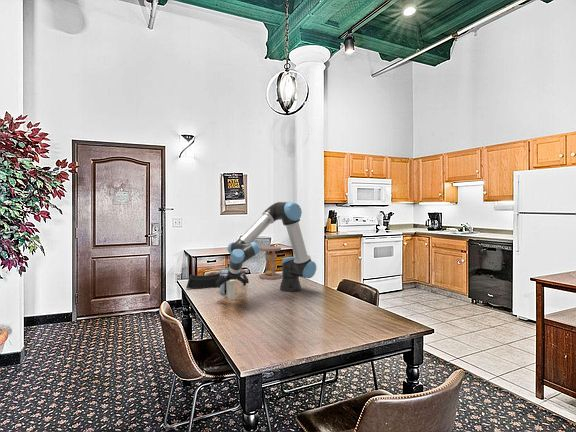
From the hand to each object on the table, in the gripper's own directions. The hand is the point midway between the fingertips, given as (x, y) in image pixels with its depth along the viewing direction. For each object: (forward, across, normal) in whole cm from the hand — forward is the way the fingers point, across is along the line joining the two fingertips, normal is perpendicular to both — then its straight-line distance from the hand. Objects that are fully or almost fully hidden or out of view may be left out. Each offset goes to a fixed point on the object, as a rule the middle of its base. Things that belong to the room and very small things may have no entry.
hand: (230, 289), depth 232 cm
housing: (+18, 0, +9) cm, 20 cm away
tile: (+8, +1, -2) cm, 8 cm away
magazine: (+30, -11, +21) cm, 39 cm away
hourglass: (+46, +41, +38) cm, 73 cm away
